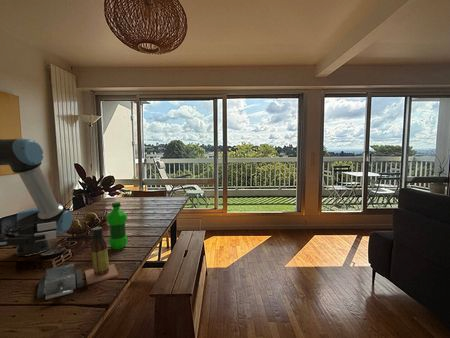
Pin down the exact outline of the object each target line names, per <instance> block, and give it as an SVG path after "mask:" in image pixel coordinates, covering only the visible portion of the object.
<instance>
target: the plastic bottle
mask: <svg viewBox="0 0 450 338" xmlns="http://www.w3.org/2000/svg"><path fill="white" fill-rule="evenodd" d="M111 207H112V211H110V212H109V214H108V215H107V216H106V222H107V224H108V225H109V239H108V244H109V246H110V247H111V248H112V249H114V250H121V249H123V248H124V247H125V246H126V245H127V243H128V242H129V239H128V236H127V234H126V232H127V231H126V222H127V221H128V214H127V213H126V212H125V211H124V210H122V209H120V207H122V206H121V202H119V201H118V202H117V201H116V202H112V204H111Z"/></svg>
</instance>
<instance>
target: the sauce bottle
mask: <svg viewBox="0 0 450 338" xmlns="http://www.w3.org/2000/svg"><path fill="white" fill-rule="evenodd" d="M91 232H92V241H91V244H90V248H91V252H90V253H91V259H92V260H91V261H92V267H93V268H92V269H93V270H94V274H95V275H102V274H105V273H107V272H108V271H109V265H110V262H109V254H108V253H109V252H108V245H107V242H106V241H105V238H104V235H103V227H102V226H96V227H93V228H91Z"/></svg>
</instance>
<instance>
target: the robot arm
mask: <svg viewBox="0 0 450 338" xmlns="http://www.w3.org/2000/svg"><path fill="white" fill-rule="evenodd" d="M43 159H44V151H43V148H42V145H40V144H39V143H38V142H37V141H36V140H33V139H31V138H30V139H29V138H11V139H10V138H9V139H6V138H5V139H1V138H0V166H9V167H10V170H11V171H12V172H13V173H14V174H18V175H19V177H20V179H21V181H22V182H23V184H24V186H25V188H26V190H27V192H28V193H29V195H30V197H31V199H32V200H33V201H32V202H34V205H35V206H36V207H35V208H30V209H25V210H22V211H20V212H18V213H16V225H17V227H15V228H10V229H7V228H6V229H5V232H1V231H0V249H1V248H3V247H4V248H5V247H14V246H16V249H15V256H16V255H17V256H16V257H18V256H25V255H29V254H33V253H38V252H40V251H43V250H47V249H49V248H50V249H51V244H50V242H49V240H53V239H57V234H61V233H66V232H67V231H69V229H70V228H71V226H72V223H73V218H74V217H73V212H72V211H70V210H65V208H64V206H63V205H62V204H61V203H58V202H57V200H56V197H55V196H54V193H53V191H52V190H51V187H50V185H49V183H48V181H47V179H46V177H45V175H44V173H43V171H42V169H41V165H42V163H43V162H42V161H43ZM50 249H49V250H50Z"/></svg>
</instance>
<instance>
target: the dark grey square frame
mask: <svg viewBox="0 0 450 338" xmlns="http://www.w3.org/2000/svg"><path fill="white" fill-rule="evenodd" d="M82 273H83V272H82V268H77V269H75V263H74V262H73V263H70V264H64V265H59V266H57V267H51V268H46V270H45V276H43V277H39V281H38V286H37V292H36V297H37V299H38V300H39V299H41V298H45V300H51V299H54V298H55V299H56V298H58V297H62V296H65V295H69V294H73V293H74V290H76V289H79V288H80V289H81V288H83V287H84V280H83V274H82Z"/></svg>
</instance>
